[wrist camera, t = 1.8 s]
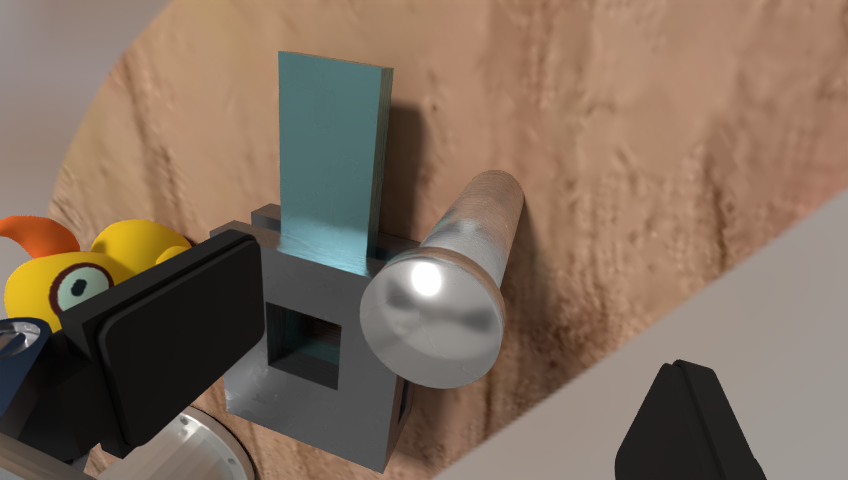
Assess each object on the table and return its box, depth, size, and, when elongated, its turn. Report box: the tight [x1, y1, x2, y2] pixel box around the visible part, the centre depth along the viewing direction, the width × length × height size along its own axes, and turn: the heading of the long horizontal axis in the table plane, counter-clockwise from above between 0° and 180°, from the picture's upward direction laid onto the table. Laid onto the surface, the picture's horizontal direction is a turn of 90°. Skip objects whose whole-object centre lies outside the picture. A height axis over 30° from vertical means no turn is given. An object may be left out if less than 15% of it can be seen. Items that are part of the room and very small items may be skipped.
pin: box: [360, 170, 524, 389], centre depth 16 cm, size 4×4×12 cm
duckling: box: [0, 216, 192, 333], centre depth 25 cm, size 11×5×10 cm, turn 16°
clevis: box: [210, 51, 421, 474], centre depth 23 cm, size 22×11×5 cm, turn 172°
